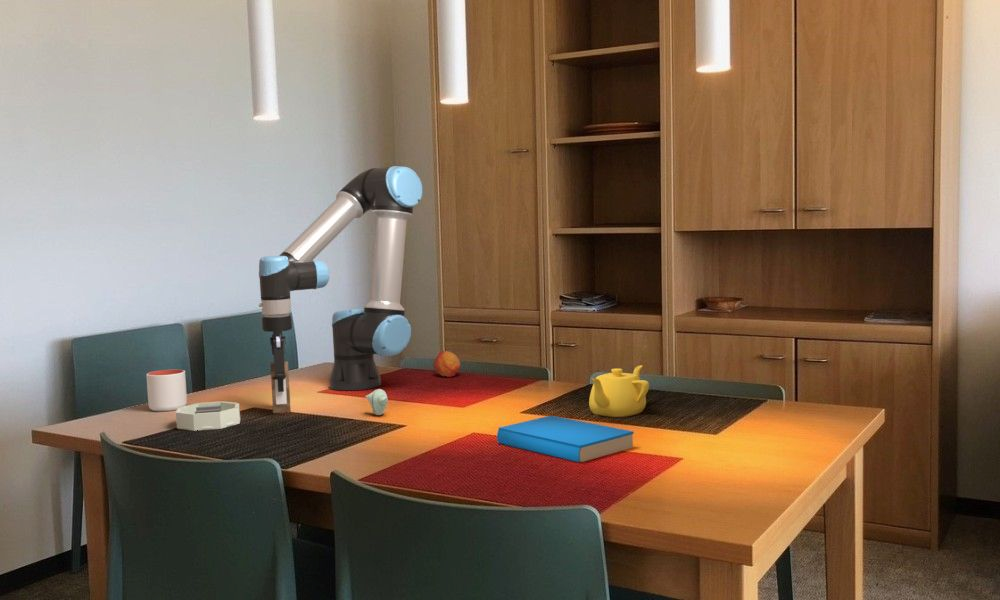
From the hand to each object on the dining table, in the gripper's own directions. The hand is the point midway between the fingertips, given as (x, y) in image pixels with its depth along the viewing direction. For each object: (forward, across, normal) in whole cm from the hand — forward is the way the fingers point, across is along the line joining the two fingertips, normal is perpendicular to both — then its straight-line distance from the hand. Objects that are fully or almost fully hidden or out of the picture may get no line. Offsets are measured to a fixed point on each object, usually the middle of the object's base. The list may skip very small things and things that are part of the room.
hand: (281, 400), depth 260 cm
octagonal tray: (+3, +8, -18) cm, 20 cm away
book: (+4, +62, +58) cm, 85 cm away
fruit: (+3, -35, +51) cm, 62 cm away
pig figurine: (+3, +15, +24) cm, 28 cm away
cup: (+3, -17, -30) cm, 35 cm away
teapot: (+3, +35, +82) cm, 89 cm away
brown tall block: (+3, 0, 0) cm, 3 cm away
